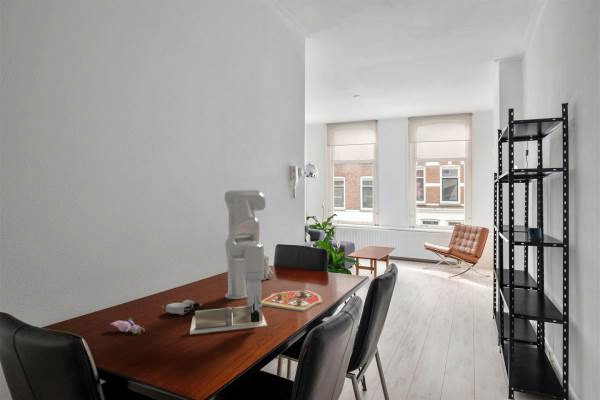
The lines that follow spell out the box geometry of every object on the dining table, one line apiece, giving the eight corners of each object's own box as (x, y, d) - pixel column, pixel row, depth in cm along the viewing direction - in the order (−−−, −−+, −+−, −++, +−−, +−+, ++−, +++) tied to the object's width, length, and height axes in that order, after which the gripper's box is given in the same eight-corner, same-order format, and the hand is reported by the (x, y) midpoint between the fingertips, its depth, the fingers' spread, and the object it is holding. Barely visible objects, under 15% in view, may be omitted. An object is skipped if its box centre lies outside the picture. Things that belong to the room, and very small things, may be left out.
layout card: (192, 317, 155) (192, 316, 155) (261, 310, 162) (260, 309, 162) (189, 334, 136) (189, 333, 136) (267, 326, 143) (267, 324, 143)
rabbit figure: (147, 333, 141) (117, 324, 145) (148, 319, 141) (118, 310, 145) (135, 340, 135) (104, 330, 139) (137, 324, 135) (106, 315, 139)
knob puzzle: (254, 305, 172) (254, 296, 172) (285, 290, 198) (285, 282, 198) (308, 313, 158) (308, 303, 158) (333, 296, 184) (333, 287, 184)
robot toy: (183, 307, 173) (160, 315, 159) (183, 298, 173) (160, 304, 159) (203, 310, 168) (182, 318, 154) (204, 300, 168) (182, 307, 154)
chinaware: (244, 278, 237) (241, 253, 236) (268, 273, 242) (265, 249, 241) (251, 288, 210) (248, 260, 210) (278, 282, 215) (275, 255, 215)
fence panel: (233, 324, 143) (232, 308, 143) (232, 323, 144) (232, 307, 144) (262, 321, 145) (262, 305, 145) (262, 320, 147) (261, 304, 147)
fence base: (195, 328, 141) (195, 310, 141) (231, 325, 144) (231, 306, 144) (195, 331, 139) (195, 311, 139) (232, 327, 142) (231, 308, 142)
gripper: (242, 272, 145) (244, 316, 145) (246, 280, 131) (247, 329, 131) (261, 270, 147) (262, 314, 147) (266, 278, 133) (267, 327, 133)
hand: (255, 321), depth 139 cm, fingers closed
